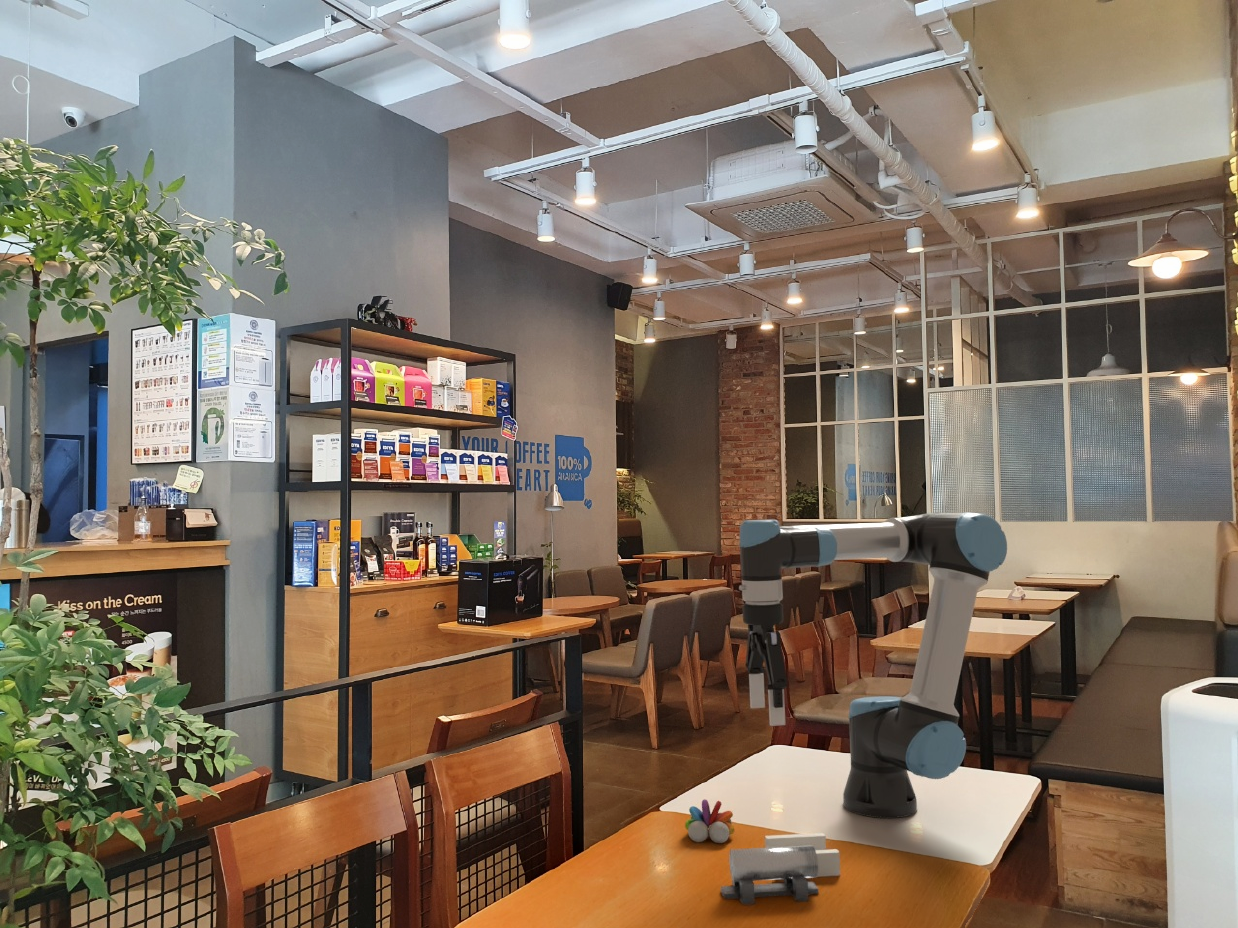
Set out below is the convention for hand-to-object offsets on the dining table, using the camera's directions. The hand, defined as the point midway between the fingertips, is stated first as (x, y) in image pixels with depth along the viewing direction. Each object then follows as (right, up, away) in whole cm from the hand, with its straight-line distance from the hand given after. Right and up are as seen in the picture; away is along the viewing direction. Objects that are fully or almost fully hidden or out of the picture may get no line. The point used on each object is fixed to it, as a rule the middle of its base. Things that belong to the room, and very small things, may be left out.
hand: (767, 716), depth 171 cm
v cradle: (-2, -25, -17) cm, 30 cm away
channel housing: (+5, -25, -6) cm, 27 cm away
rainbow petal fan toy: (-10, -27, +9) cm, 30 cm away
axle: (-2, -20, -17) cm, 26 cm away
